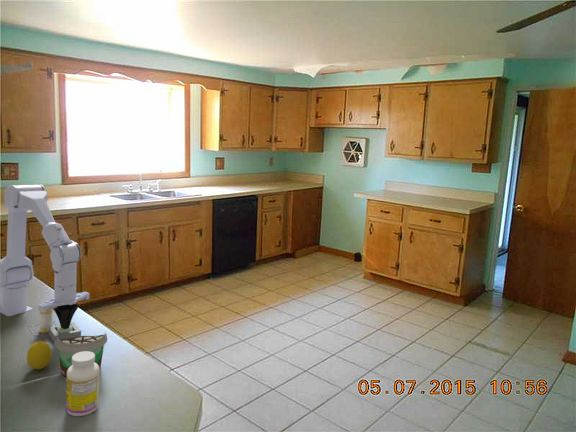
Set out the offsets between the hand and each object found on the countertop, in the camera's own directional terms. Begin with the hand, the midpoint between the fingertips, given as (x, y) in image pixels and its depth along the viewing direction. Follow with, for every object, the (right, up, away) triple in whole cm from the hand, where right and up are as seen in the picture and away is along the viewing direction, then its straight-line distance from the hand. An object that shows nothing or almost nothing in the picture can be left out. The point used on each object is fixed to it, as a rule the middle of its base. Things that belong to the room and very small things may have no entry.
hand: (64, 327), depth 128 cm
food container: (+14, -8, -18) cm, 24 cm away
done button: (0, -2, 0) cm, 2 cm away
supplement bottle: (+20, -11, -31) cm, 38 cm away
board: (-5, -2, +3) cm, 6 cm away
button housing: (0, -3, 0) cm, 3 cm away
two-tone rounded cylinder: (-7, -2, +3) cm, 8 cm away
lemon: (+2, -7, -17) cm, 19 cm away
